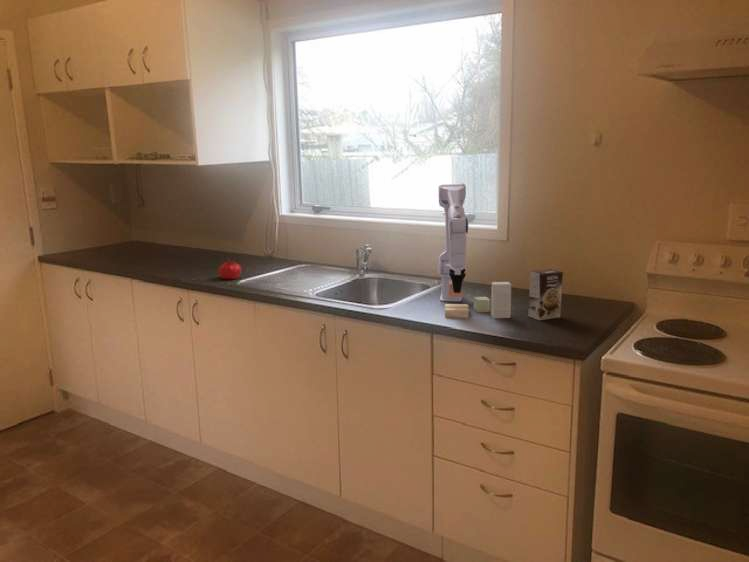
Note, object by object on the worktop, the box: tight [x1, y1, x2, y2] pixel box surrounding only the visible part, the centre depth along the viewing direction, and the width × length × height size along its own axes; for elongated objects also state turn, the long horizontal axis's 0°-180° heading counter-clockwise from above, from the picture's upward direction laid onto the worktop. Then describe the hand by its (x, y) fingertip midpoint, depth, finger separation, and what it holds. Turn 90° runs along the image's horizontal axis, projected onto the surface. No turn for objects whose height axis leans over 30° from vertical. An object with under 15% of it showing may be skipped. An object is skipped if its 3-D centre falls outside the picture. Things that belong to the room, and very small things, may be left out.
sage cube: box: [473, 296, 491, 313], centre depth 222 cm, size 4×4×4 cm
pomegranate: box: [218, 257, 242, 280], centre depth 279 cm, size 10×10×9 cm
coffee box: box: [527, 268, 564, 321], centre depth 212 cm, size 9×6×16 cm
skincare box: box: [490, 281, 512, 319], centre depth 213 cm, size 6×4×12 cm
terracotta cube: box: [449, 281, 464, 298], centre depth 216 cm, size 4×4×4 cm
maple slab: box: [444, 303, 469, 319], centre depth 218 cm, size 8×8×3 cm
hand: (457, 290), depth 216 cm, fingers closed on terracotta cube, 4 cm apart
